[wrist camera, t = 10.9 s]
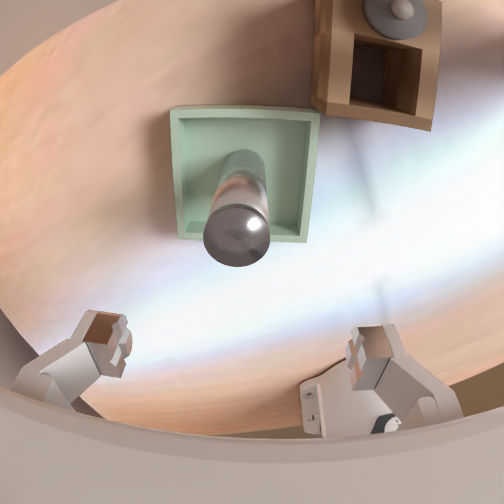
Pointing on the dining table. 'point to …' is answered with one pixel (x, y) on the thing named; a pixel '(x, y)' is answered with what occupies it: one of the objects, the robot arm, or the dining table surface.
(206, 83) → the dining table surface
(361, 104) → the tensioner block
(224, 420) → the dining table surface
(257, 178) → the pin
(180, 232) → the tray
